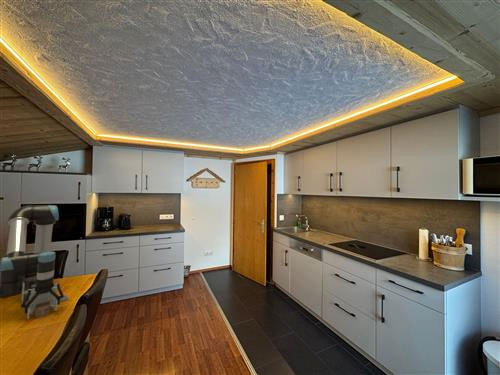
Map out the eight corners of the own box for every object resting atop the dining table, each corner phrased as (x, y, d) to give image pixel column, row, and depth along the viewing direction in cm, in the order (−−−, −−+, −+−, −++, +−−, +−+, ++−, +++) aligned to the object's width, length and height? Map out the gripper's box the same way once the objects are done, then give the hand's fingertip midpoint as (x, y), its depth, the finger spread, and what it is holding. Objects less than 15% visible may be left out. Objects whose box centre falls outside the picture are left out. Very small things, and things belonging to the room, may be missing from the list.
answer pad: (51, 299, 139) (51, 298, 139) (66, 295, 145) (67, 294, 145) (52, 304, 134) (52, 303, 134) (68, 300, 140) (68, 299, 140)
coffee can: (46, 296, 143) (48, 276, 144) (28, 303, 133) (30, 282, 133) (35, 293, 145) (37, 274, 146) (16, 301, 135) (18, 280, 135)
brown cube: (35, 314, 123) (35, 304, 123) (48, 310, 128) (49, 300, 128) (35, 318, 119) (36, 308, 119) (49, 314, 123) (50, 304, 124)
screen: (27, 311, 125) (29, 291, 126) (54, 304, 134) (55, 285, 134) (27, 314, 122) (29, 294, 122) (55, 307, 131) (56, 288, 131)
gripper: (15, 285, 113) (12, 325, 112) (71, 274, 130) (68, 308, 129) (16, 281, 118) (13, 319, 117) (69, 271, 135) (67, 304, 134)
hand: (42, 313), depth 123 cm, fingers open, 11 cm apart
